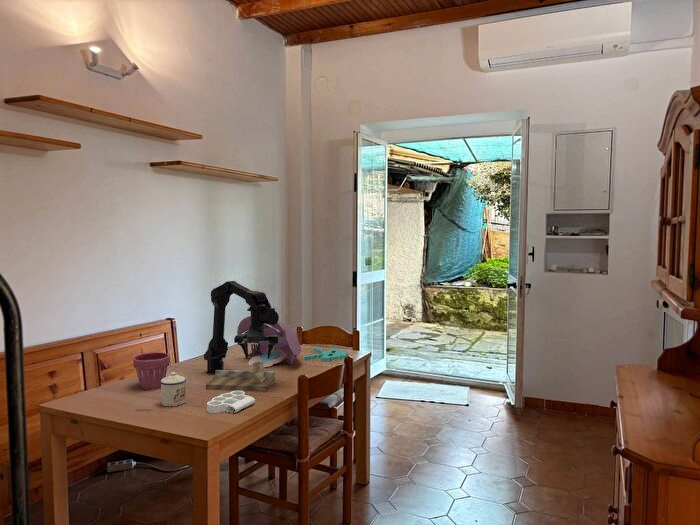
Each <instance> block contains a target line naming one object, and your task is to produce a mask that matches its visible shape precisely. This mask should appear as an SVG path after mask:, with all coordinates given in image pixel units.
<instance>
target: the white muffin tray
mask: <svg viewBox="0 0 700 525" xmlns="http://www.w3.org/2000/svg"><path fill="white" fill-rule="evenodd" d="M255 403H256V399H255V398H254V397H252V396H250V395H246V392H245V391H244V390H231V391H230V392H226V393H221V394H219V395H218V396H214V397H213V398H211V400H210V401H207V403H206V412H207V413H208V412H209V413H208V414H220V412H221V413H228V412H231V411H233V410H234V409H235V411H233V412H234V413H233V414H236V413H237V412H240V411H241V410H243V408H244V409H246V408H247V407H249V406H251V405H253V404H255ZM225 411H226V412H225Z"/></svg>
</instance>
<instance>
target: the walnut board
mask: <svg viewBox="0 0 700 525" xmlns="http://www.w3.org/2000/svg"><path fill="white" fill-rule="evenodd" d="M214 375H215V376H214V377H213V378H212V379H210V381H209V382H207V383H206V384H205V390H210V389H217V390H218V391H219V390H220V391H246V390H250V391H251V392H253V391H254V392H257V391H258V392H269V391H270V389H271V388H272V387H271V386H273V385H274V384H275V383H276V371H272V370H271V371H268V370H264V378H263V379H262V381H261V382H251V370H237V369H236V370H233V369H232V370H231V369H229V370H228V369H224V370H216V371H215V374H214ZM274 382H275V383H274ZM217 390H216V391H217ZM268 390H269V391H268ZM250 391H249V392H250Z"/></svg>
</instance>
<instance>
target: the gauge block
mask: <svg viewBox="0 0 700 525" xmlns="http://www.w3.org/2000/svg"><path fill="white" fill-rule="evenodd" d="M264 369H265V367H264V362H254V363H253V364H252V365H251V366H250V371H251V382H261V381H262V379H263V378H264V371H265V370H264Z"/></svg>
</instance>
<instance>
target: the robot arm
mask: <svg viewBox="0 0 700 525" xmlns="http://www.w3.org/2000/svg"><path fill="white" fill-rule="evenodd" d="M233 294H234V295H235V296H238V297H239V298H242V299H243V300H244V301H245V303H246V305H248V306H249V307H248V308H247V309H246V310H247V312H250V316H251V326H250V330H249V332H248V334H247V335H246V334H244V333H242V334H238V335H237V334H236V335H235V336H234V338H233V342H234V343H235V344H237V345H238V346H240V347H241V349H242V352H243V354H244V356H245V359H246V360H248V359H249V357H248V354H249V347H248V346H249V344H258V343H259V342H260V341H269V342H270V343H269V344H268V359H269V358H270V355H271V352H272V349H273V347H274V345H276V344H277V343H279V342H280V341H281V337H280V335H277V334H271V335H270V336H269V337H267V336H265V333H264V326H265V324H266V325H268V324H270V325H275V324H276V323H277V322H278V320H279V318H280V316H279V313H278V312H277V311H276V308H275V307H272V305H271V303H270V301H269V299H268V297H267V295H266V293H265V292H263V291H259V290H252V289H249V288H248V287H246V286H244V285H242V284H240V283H238V282H237V281H235V280H229V281H228V280H227V281H225V282H223V284H220V285H219V286H217V287H214V288H212V290H211V291H210V302H211V303H212V305H213V307H214V308H213V309H214V310H213V323H212V325H213V326H212V337H211V339H210V341H209V342H208V346H207V350H206V351H205V352H204V354H203V359H204V361H206V363H207V364H206V366H207V368H206V369H207V371H206V372H205V373H206V374H214V375H215V371H216V370H225V368H224V367H225V365H224V364H225V363H224V360H223V359H226V356H227V354H228V353H227V352H228V350H229V348H228V347H229V342H228V341H227V340H226V338H225V322H226V308H227V306H228V304H229V302H230V299H231V296H232V295H233ZM270 325H269V326H270Z"/></svg>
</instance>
